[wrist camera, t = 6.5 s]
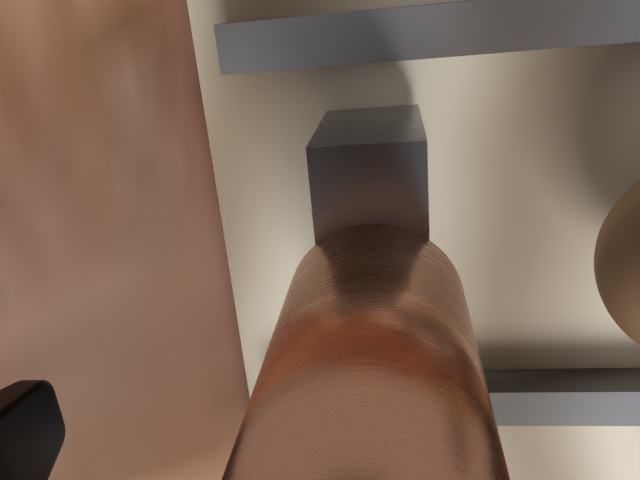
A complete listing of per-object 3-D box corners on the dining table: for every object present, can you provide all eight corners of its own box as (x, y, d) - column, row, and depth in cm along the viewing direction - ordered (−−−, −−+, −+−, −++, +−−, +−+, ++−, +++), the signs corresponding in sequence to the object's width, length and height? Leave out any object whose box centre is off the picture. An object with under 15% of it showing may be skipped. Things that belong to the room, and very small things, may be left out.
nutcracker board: (982, -220, 11) (1651, -464, 5) (803, 453, 17) (1024, 698, 11) (189, -119, 13) (24, -212, 7) (272, 449, 19) (219, 653, 13)
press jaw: (446, 102, 13) (565, 330, 4) (449, 342, 15) (529, 824, 6) (299, 113, 13) (122, 339, 5) (323, 344, 15) (233, 799, 7)
